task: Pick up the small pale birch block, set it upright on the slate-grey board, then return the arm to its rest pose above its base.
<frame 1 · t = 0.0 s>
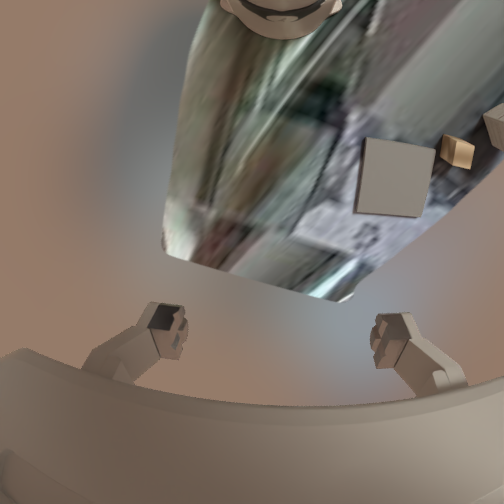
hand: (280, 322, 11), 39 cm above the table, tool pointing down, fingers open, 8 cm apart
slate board: (395, 178, 44), on the table
supplement box: (496, 123, 33), on the table
birch block: (450, 147, 39), on the table
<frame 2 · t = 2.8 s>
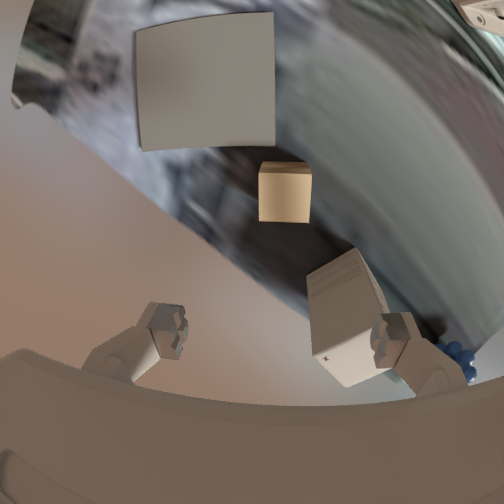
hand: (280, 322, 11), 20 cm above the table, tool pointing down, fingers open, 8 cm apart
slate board: (203, 80, 23), on the table
grapes: (431, 342, 38), on the table
supplement box: (344, 279, 33), on the table
birch block: (284, 182, 28), on the table
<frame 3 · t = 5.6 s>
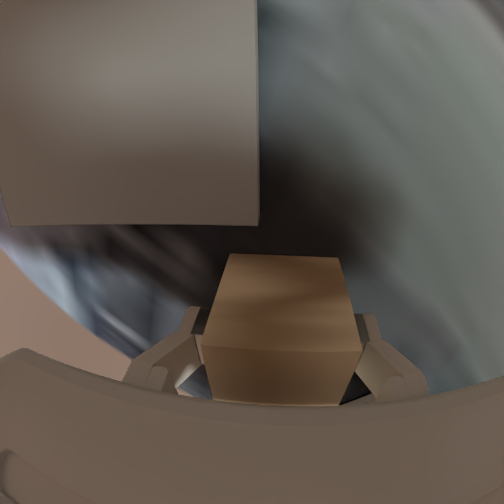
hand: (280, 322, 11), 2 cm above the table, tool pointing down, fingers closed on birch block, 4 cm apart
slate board: (87, 64, 8), on the table
birch block: (281, 298, 13), on the table, touching gripper
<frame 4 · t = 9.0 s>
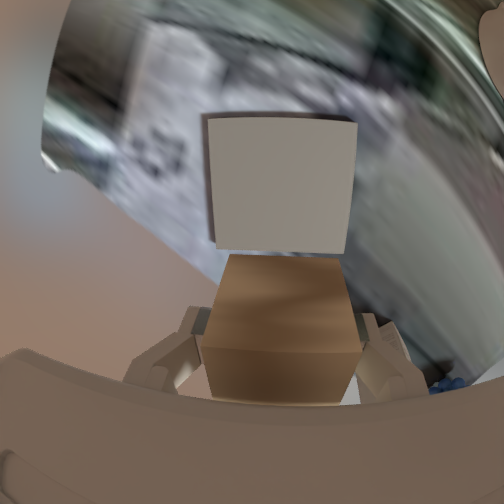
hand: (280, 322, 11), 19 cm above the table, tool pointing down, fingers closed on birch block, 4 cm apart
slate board: (282, 185, 27), on the table
grapes: (440, 377, 42), on the table
supplement box: (378, 342, 38), on the table
birch block: (281, 298, 13), point 17 cm above the table, touching gripper
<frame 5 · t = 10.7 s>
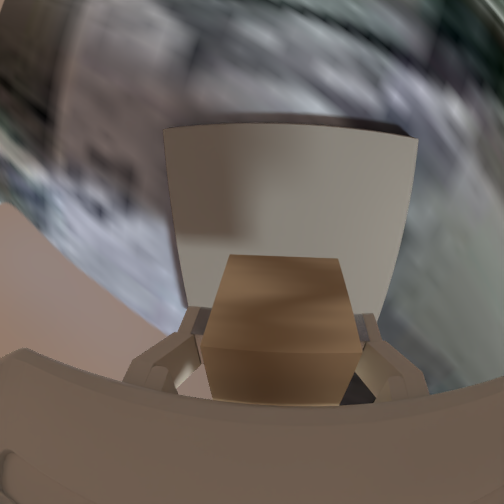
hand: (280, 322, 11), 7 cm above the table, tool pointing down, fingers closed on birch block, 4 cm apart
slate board: (289, 237, 17), on the table
birch block: (281, 298, 13), point 6 cm above the table, touching gripper
when the fingers open (4 cm above the table, at t = 12.1 s): birch block drops 1 cm, resting on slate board.
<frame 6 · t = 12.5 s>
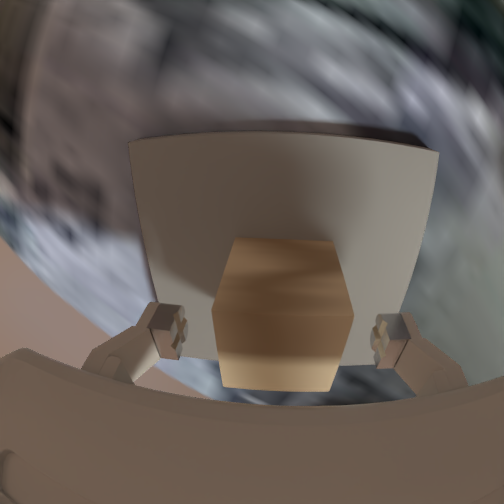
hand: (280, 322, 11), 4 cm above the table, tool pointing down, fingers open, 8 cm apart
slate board: (281, 268, 15), on the table
birch block: (282, 279, 14), point 1 cm above the table, touching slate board
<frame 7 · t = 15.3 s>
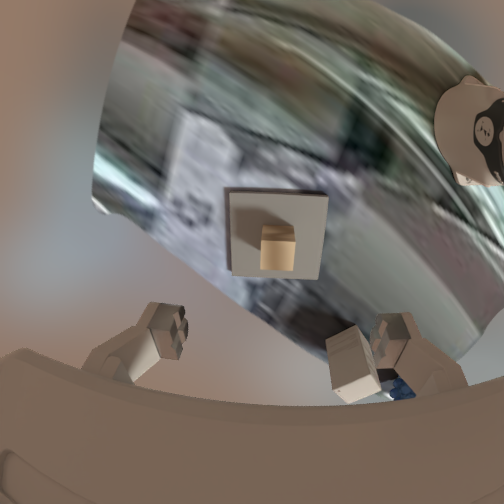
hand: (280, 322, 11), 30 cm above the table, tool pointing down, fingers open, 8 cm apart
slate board: (277, 236, 42), on the table
grapes: (403, 371, 58), on the table
supplement box: (347, 340, 53), on the table
birch block: (277, 239, 42), point 1 cm above the table, touching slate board
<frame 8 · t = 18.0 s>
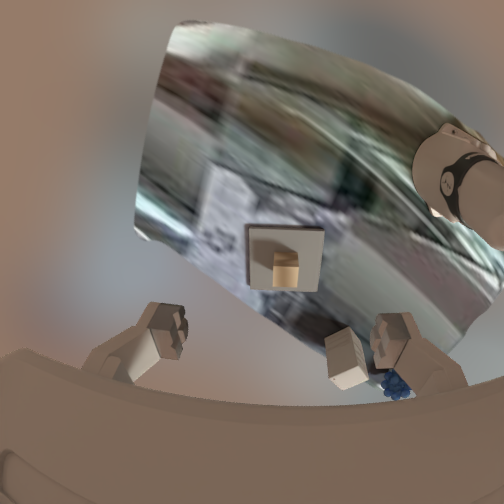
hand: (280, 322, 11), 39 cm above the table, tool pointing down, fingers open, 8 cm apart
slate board: (285, 259, 55), on the table
grapes: (393, 365, 70), on the table
supplement box: (342, 338, 65), on the table
birch block: (285, 262, 54), point 1 cm above the table, touching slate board
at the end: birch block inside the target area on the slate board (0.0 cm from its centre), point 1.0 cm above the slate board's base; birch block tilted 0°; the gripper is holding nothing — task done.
